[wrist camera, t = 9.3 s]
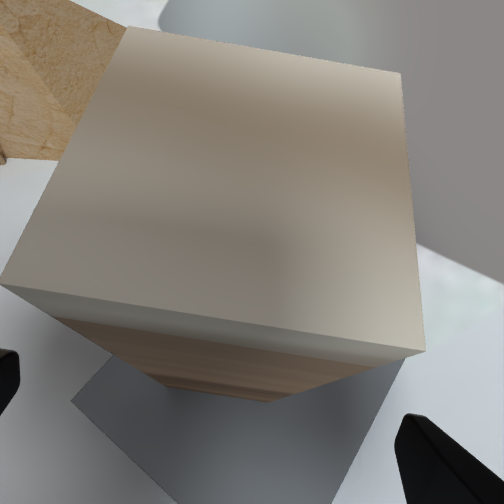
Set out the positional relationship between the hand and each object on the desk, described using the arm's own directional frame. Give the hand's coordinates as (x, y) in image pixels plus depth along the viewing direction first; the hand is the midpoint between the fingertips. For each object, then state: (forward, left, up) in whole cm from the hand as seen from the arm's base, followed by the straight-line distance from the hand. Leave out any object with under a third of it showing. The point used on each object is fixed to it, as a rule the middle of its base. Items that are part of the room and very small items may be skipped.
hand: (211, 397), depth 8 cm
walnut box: (+2, -3, -9) cm, 10 cm away
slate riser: (0, -2, -12) cm, 13 cm away
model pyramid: (+29, -9, -13) cm, 33 cm away
